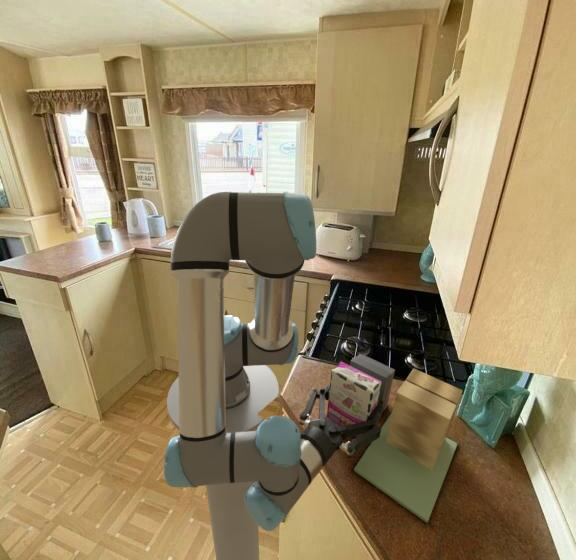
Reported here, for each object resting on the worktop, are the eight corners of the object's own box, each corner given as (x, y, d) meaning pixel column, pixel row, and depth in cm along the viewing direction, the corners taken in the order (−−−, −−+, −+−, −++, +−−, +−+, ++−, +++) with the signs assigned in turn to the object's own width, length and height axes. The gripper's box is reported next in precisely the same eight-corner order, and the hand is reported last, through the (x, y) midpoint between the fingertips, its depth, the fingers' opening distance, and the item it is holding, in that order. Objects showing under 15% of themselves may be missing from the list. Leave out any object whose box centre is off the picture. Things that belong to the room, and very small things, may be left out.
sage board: (353, 470, 70) (354, 468, 69) (393, 410, 85) (394, 408, 85) (427, 523, 61) (428, 521, 60) (456, 445, 76) (457, 443, 76)
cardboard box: (385, 442, 75) (396, 392, 69) (401, 415, 83) (413, 368, 76) (432, 471, 69) (450, 419, 62) (445, 439, 76) (462, 390, 70)
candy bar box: (373, 430, 79) (383, 381, 72) (363, 444, 76) (373, 393, 69) (335, 407, 86) (341, 360, 79) (325, 419, 82) (330, 370, 75)
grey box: (345, 399, 88) (350, 360, 82) (354, 388, 92) (360, 350, 86) (378, 419, 83) (386, 378, 77) (387, 406, 86) (395, 366, 81)
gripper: (267, 433, 73) (320, 382, 88) (357, 503, 60) (402, 429, 75) (267, 409, 70) (322, 361, 85) (362, 478, 56) (407, 406, 72)
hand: (359, 392), depth 80 cm, fingers closed on candy bar box, 11 cm apart
